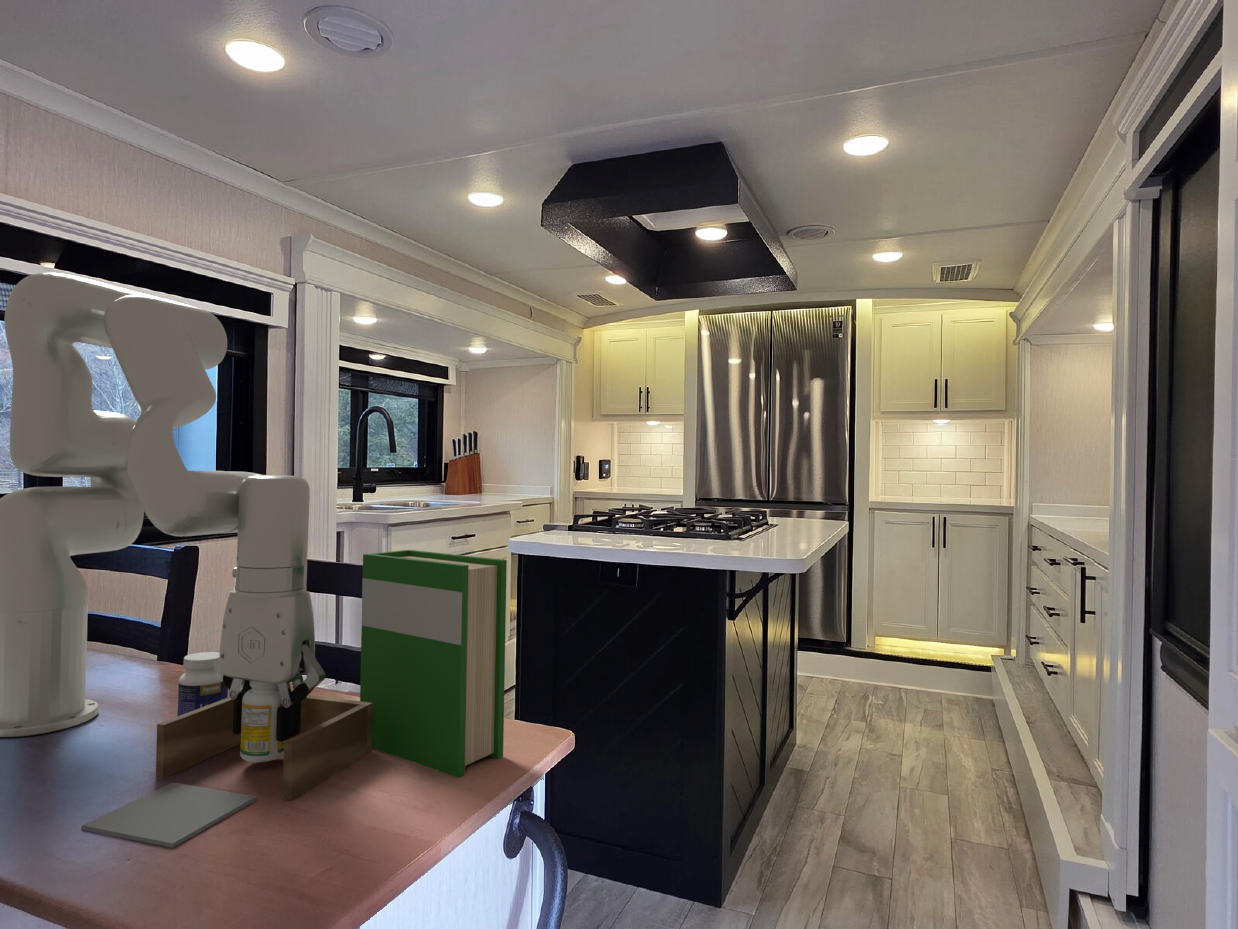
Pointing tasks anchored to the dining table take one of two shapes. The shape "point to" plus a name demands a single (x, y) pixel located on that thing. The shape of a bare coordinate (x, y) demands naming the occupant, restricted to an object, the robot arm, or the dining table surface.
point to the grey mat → (169, 814)
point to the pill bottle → (200, 683)
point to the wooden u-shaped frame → (310, 757)
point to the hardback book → (434, 656)
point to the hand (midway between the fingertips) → (266, 732)
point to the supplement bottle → (260, 723)
